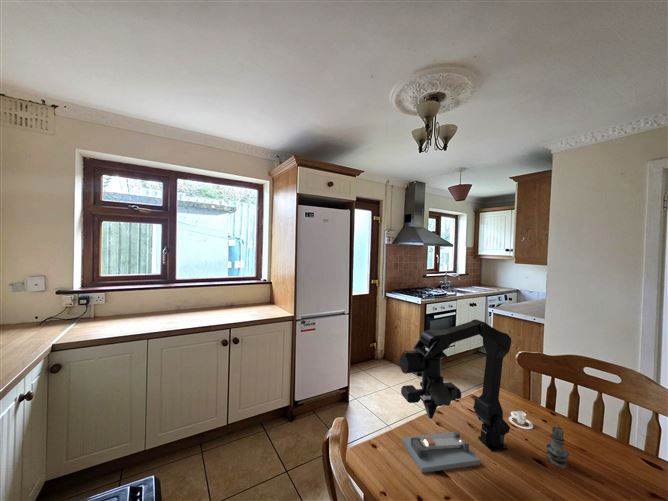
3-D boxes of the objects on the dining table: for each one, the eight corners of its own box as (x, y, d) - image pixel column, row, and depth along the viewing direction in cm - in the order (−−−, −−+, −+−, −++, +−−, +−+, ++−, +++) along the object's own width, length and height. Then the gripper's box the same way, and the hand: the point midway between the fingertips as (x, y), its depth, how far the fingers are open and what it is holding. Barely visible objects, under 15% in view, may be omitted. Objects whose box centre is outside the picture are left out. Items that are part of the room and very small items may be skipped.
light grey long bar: (460, 441, 91) (460, 435, 91) (466, 448, 88) (466, 441, 88) (419, 443, 88) (419, 437, 88) (423, 450, 85) (424, 443, 85)
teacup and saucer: (509, 413, 111) (509, 404, 111) (533, 421, 106) (533, 411, 106) (508, 424, 104) (508, 414, 104) (533, 433, 99) (533, 422, 99)
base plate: (454, 435, 96) (454, 424, 96) (480, 464, 83) (480, 451, 83) (402, 441, 92) (403, 430, 92) (421, 472, 79) (421, 459, 79)
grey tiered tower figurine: (573, 470, 82) (574, 431, 82) (552, 466, 83) (553, 428, 83) (561, 455, 88) (562, 419, 88) (541, 452, 89) (542, 417, 89)
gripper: (417, 384, 77) (415, 438, 77) (473, 380, 81) (472, 431, 81) (400, 368, 88) (399, 414, 88) (451, 365, 92) (450, 409, 92)
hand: (430, 417), depth 87 cm, fingers closed
